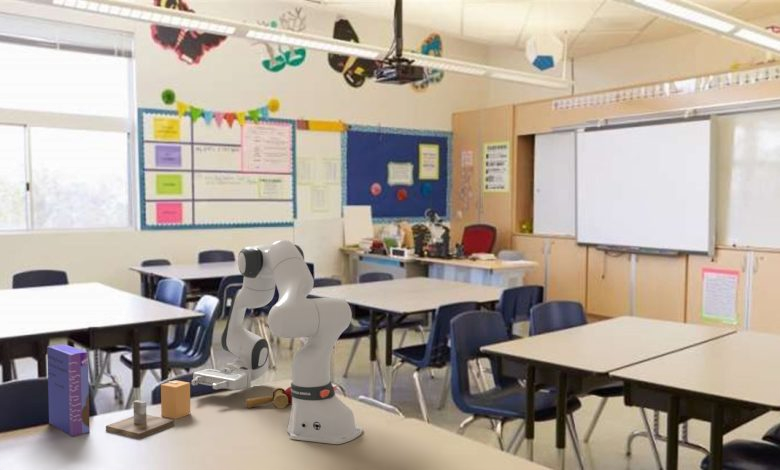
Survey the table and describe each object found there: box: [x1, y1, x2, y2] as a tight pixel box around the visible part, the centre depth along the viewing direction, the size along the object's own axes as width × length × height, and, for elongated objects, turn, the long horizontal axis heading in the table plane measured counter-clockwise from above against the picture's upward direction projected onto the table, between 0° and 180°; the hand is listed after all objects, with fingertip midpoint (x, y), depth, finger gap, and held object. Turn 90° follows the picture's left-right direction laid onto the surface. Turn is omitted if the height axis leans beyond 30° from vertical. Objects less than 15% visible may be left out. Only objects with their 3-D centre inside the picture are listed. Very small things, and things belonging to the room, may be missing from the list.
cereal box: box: [46, 343, 91, 437], centre depth 195 cm, size 17×5×24 cm, turn 48°
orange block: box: [160, 379, 191, 420], centre depth 208 cm, size 6×6×10 cm
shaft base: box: [105, 399, 175, 440], centre depth 195 cm, size 14×13×8 cm
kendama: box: [246, 386, 292, 409], centre depth 217 cm, size 8×6×18 cm
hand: (203, 384), depth 218 cm, fingers open, 8 cm apart
